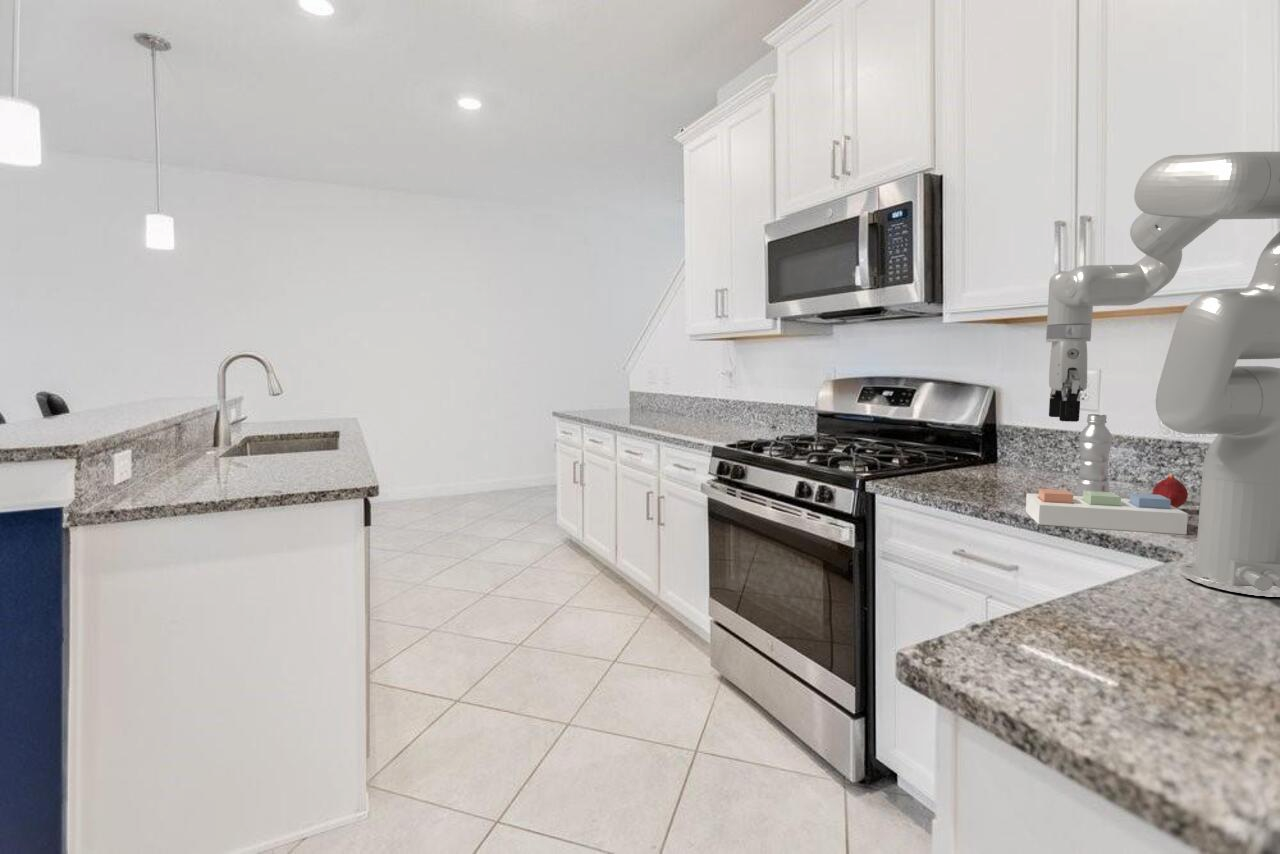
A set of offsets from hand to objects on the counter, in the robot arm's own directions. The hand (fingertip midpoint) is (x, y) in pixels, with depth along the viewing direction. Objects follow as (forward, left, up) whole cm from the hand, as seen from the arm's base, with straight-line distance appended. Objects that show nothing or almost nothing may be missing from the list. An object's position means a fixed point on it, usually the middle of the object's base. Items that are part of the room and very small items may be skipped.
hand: (1063, 419), depth 131 cm
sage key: (-1, -7, -18) cm, 20 cm away
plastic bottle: (+23, -12, -21) cm, 34 cm away
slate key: (-1, -15, -18) cm, 24 cm away
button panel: (-1, -7, -21) cm, 22 cm away
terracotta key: (-1, +1, -18) cm, 18 cm away
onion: (+15, -24, -21) cm, 36 cm away
